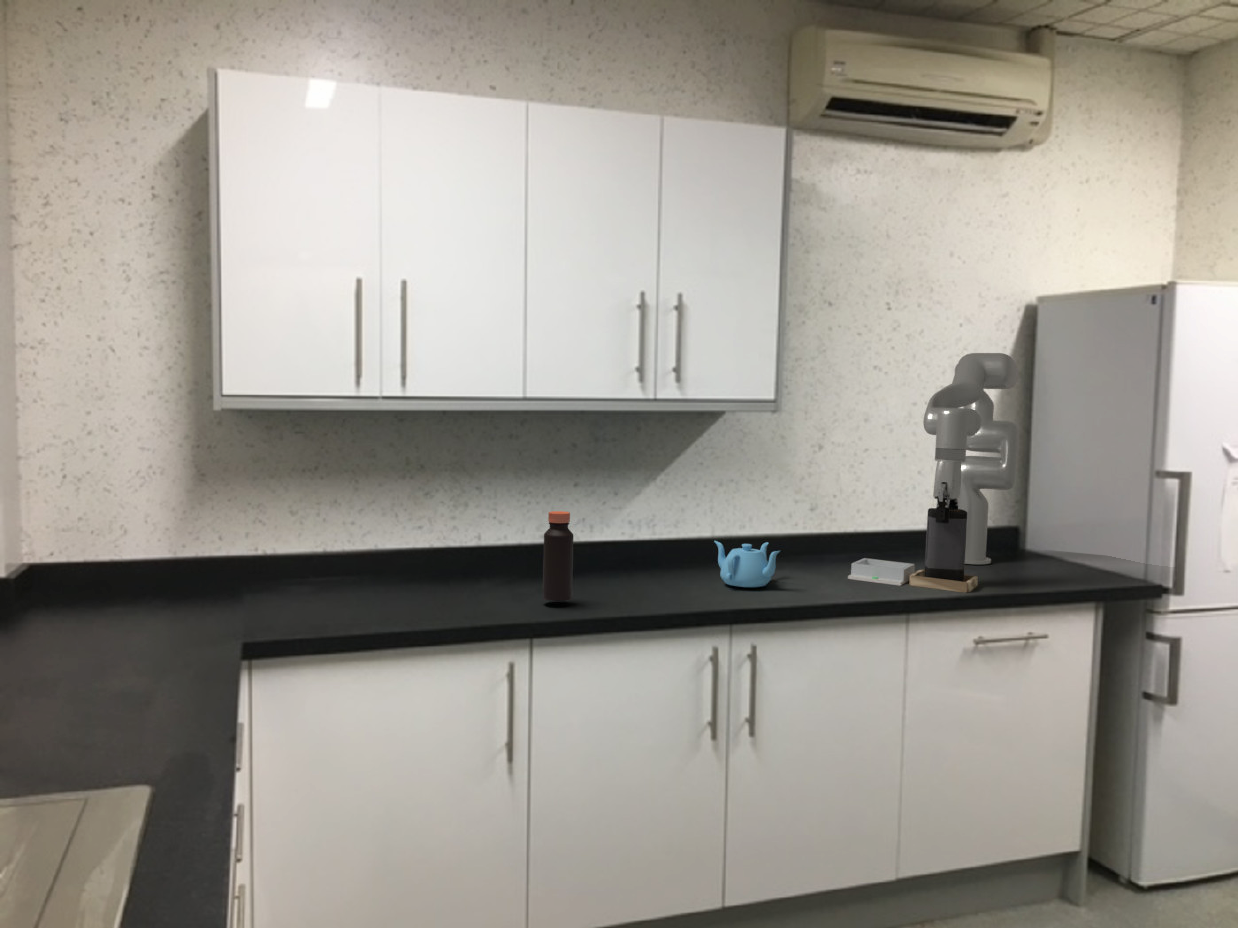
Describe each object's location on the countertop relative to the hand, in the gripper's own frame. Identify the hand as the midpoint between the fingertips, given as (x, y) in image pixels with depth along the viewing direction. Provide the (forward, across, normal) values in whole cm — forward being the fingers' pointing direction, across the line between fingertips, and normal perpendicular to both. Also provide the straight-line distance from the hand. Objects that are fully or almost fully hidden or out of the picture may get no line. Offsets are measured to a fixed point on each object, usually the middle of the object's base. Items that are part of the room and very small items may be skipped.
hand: (946, 521), depth 241 cm
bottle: (+18, +76, -69) cm, 105 cm away
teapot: (+18, +30, -42) cm, 55 cm away
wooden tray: (+17, -1, 0) cm, 17 cm away
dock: (+17, -1, -16) cm, 23 cm away
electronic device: (+17, -1, 0) cm, 17 cm away
